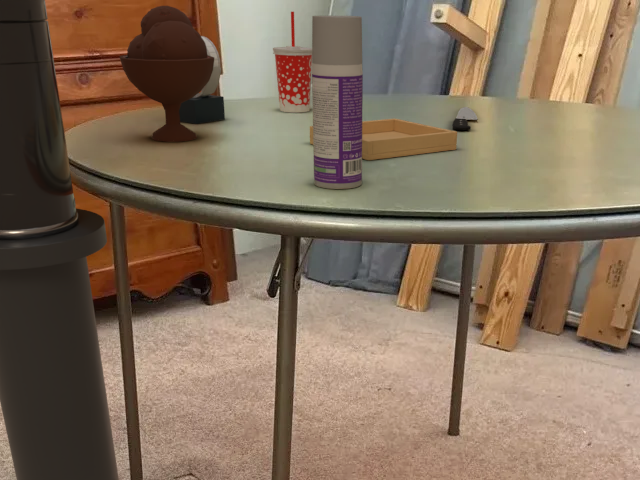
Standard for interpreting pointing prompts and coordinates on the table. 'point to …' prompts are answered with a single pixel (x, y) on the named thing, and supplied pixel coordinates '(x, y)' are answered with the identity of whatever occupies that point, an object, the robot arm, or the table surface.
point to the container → (337, 101)
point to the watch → (205, 96)
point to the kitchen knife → (464, 119)
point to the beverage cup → (293, 75)
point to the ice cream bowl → (168, 66)
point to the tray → (401, 139)
